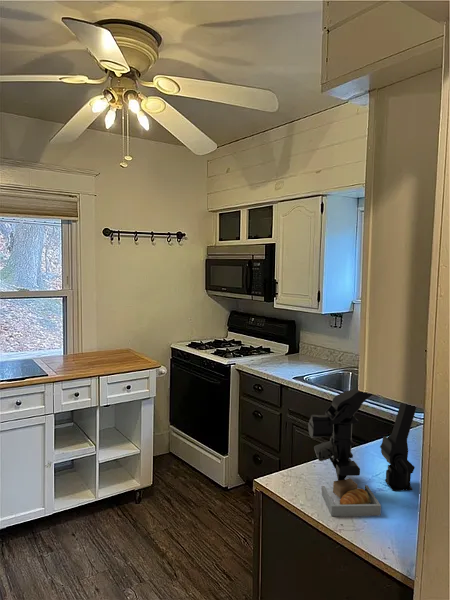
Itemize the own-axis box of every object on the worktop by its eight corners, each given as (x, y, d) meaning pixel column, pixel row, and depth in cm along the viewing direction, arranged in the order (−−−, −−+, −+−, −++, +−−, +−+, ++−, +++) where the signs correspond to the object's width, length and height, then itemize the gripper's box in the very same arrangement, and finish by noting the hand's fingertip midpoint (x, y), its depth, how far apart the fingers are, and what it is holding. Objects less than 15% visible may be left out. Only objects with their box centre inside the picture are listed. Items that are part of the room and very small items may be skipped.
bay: (367, 494, 142) (367, 485, 142) (380, 515, 131) (380, 505, 131) (321, 495, 142) (322, 485, 141) (331, 516, 130) (331, 506, 130)
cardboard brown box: (349, 488, 145) (350, 478, 145) (357, 495, 142) (357, 484, 141) (333, 491, 143) (333, 481, 143) (340, 498, 140) (340, 487, 139)
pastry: (350, 515, 131) (351, 502, 131) (333, 504, 137) (333, 492, 137) (372, 505, 136) (373, 493, 136) (355, 495, 142) (355, 483, 142)
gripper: (310, 424, 153) (308, 469, 155) (324, 449, 135) (322, 499, 136) (343, 424, 153) (341, 469, 155) (361, 448, 135) (359, 499, 137)
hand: (340, 483), depth 146 cm, fingers closed
